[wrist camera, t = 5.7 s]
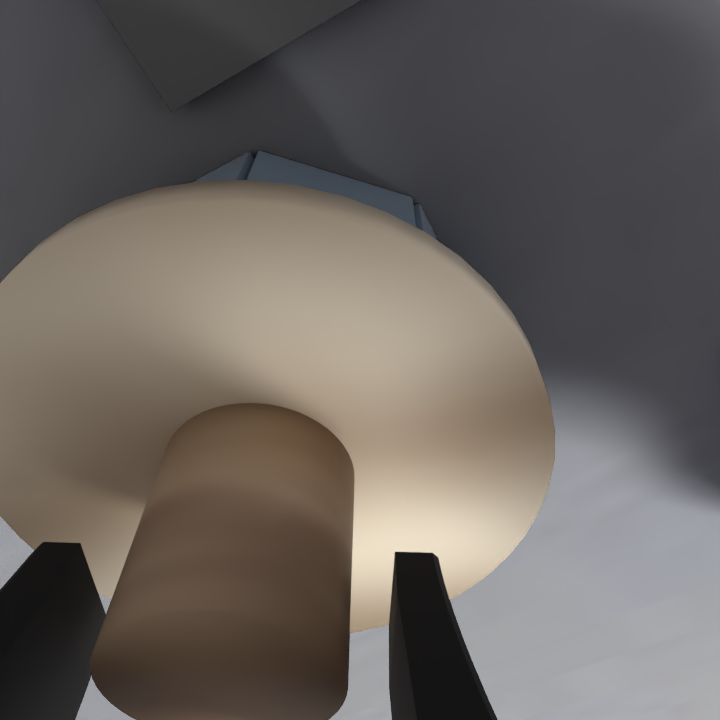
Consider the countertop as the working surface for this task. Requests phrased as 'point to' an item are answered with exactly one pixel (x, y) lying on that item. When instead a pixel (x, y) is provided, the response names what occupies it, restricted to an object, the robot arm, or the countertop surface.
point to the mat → (209, 37)
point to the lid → (259, 434)
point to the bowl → (320, 184)
